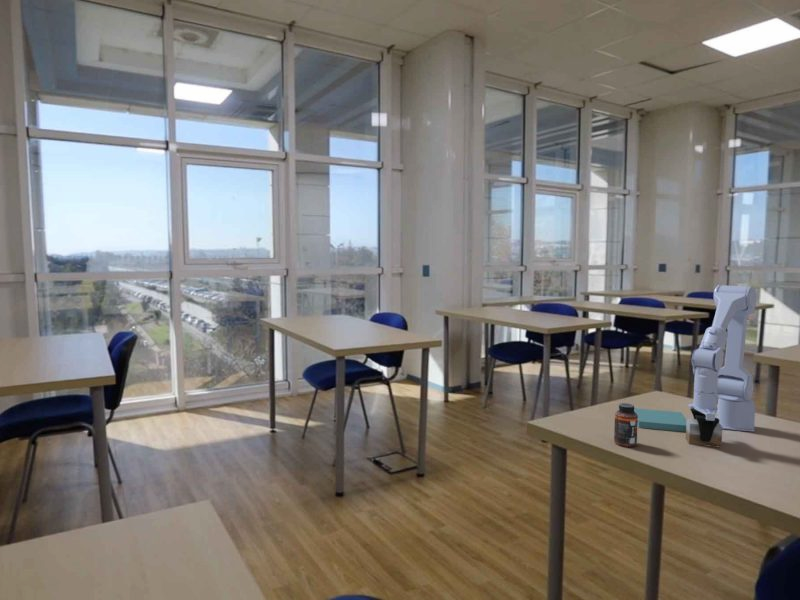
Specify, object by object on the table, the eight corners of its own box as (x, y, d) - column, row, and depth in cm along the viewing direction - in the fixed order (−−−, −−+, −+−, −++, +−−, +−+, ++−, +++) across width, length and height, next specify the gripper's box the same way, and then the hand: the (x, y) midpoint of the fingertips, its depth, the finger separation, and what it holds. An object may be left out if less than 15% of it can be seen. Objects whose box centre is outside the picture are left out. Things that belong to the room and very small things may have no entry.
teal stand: (681, 418, 169) (681, 412, 169) (689, 432, 156) (689, 425, 156) (634, 414, 174) (634, 408, 174) (638, 427, 161) (638, 421, 160)
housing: (716, 441, 149) (717, 421, 148) (721, 447, 144) (722, 426, 144) (685, 438, 151) (686, 418, 151) (688, 444, 147) (689, 423, 146)
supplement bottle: (639, 448, 144) (640, 408, 143) (616, 447, 145) (617, 407, 144) (634, 440, 150) (635, 402, 148) (612, 439, 151) (613, 401, 150)
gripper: (684, 383, 155) (682, 427, 156) (694, 396, 141) (692, 444, 142) (711, 385, 152) (709, 430, 154) (724, 398, 139) (722, 447, 140)
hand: (703, 437), depth 148 cm, fingers closed on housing, 5 cm apart
